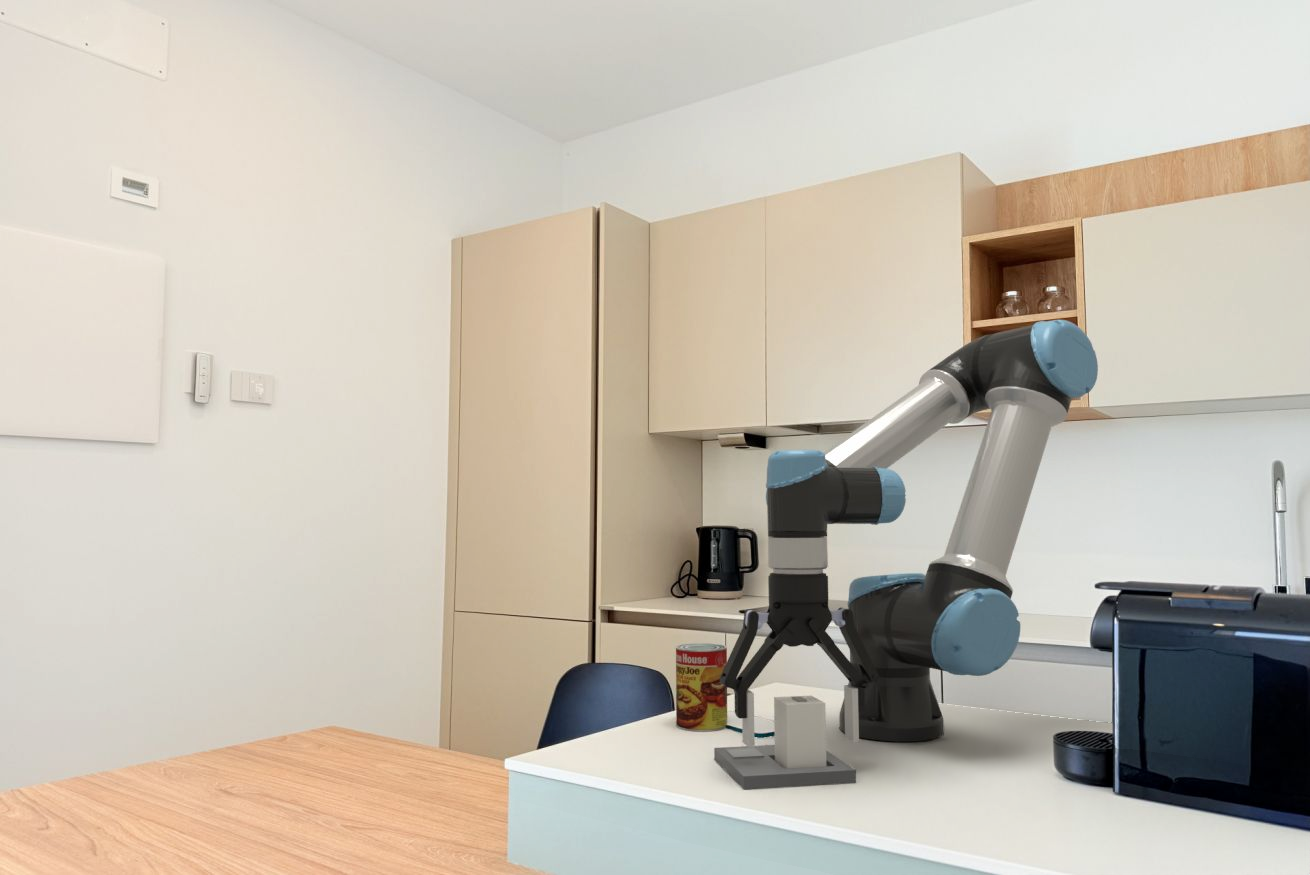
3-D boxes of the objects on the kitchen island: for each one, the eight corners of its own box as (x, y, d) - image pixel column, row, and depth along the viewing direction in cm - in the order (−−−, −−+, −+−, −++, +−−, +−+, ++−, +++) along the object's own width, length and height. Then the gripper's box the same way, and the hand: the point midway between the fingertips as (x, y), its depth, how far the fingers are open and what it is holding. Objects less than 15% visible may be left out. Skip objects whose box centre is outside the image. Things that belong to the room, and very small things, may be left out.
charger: (812, 767, 120) (811, 693, 121) (826, 777, 115) (825, 701, 116) (775, 769, 119) (774, 695, 120) (787, 779, 114) (786, 702, 115)
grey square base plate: (815, 754, 127) (814, 741, 127) (856, 782, 113) (855, 768, 113) (714, 759, 124) (714, 746, 124) (743, 789, 110) (743, 774, 110)
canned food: (666, 724, 145) (665, 645, 146) (705, 718, 150) (704, 641, 151) (698, 734, 139) (697, 651, 140) (738, 726, 143) (737, 647, 144)
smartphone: (695, 722, 149) (759, 740, 136) (695, 716, 149) (759, 734, 136) (734, 716, 153) (800, 733, 140) (734, 710, 154) (800, 727, 140)
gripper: (877, 568, 125) (881, 730, 124) (695, 571, 121) (697, 739, 119) (902, 571, 118) (907, 744, 116) (709, 574, 113) (711, 754, 112)
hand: (800, 742), depth 118 cm, fingers open, 13 cm apart
